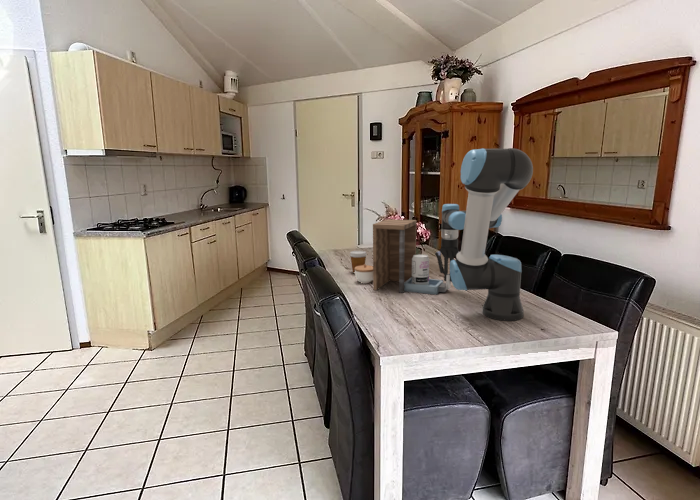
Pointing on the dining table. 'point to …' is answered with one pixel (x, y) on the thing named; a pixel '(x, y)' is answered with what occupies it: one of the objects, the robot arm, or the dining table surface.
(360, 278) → the lidded jar
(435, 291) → the tray
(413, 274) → the supplement can
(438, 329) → the dining table surface
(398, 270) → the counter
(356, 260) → the disposable coffee cup
